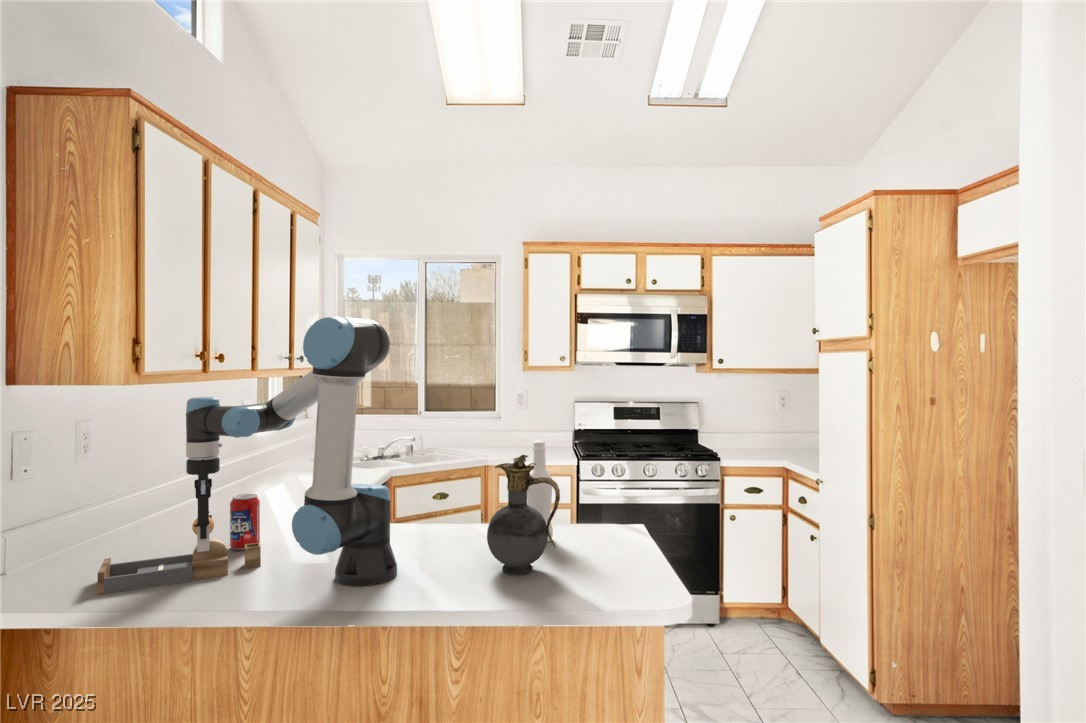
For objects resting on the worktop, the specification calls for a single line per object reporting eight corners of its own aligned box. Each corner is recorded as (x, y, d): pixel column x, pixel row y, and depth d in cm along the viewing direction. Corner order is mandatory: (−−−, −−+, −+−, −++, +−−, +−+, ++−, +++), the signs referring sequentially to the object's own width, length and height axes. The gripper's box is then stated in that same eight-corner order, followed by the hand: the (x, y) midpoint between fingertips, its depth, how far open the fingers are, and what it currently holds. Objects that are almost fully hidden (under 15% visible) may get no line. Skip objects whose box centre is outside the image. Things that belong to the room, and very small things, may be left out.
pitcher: (495, 561, 172) (495, 450, 172) (564, 566, 168) (564, 453, 167) (482, 574, 161) (482, 457, 161) (555, 581, 157) (555, 460, 157)
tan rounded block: (227, 574, 161) (227, 543, 161) (191, 579, 157) (191, 547, 157) (226, 563, 170) (226, 533, 170) (192, 567, 166) (192, 537, 166)
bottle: (556, 542, 189) (557, 442, 189) (531, 545, 186) (531, 443, 186) (546, 535, 197) (546, 438, 196) (522, 538, 194) (522, 440, 193)
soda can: (265, 544, 186) (265, 493, 186) (246, 552, 179) (246, 499, 179) (243, 542, 188) (243, 492, 188) (223, 550, 181) (223, 498, 181)
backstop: (103, 593, 148) (103, 572, 148) (97, 594, 148) (97, 573, 148) (110, 578, 158) (110, 558, 158) (104, 578, 158) (104, 558, 158)
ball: (214, 536, 162) (214, 517, 162) (192, 539, 159) (191, 519, 159) (214, 532, 166) (214, 513, 166) (192, 534, 164) (192, 515, 164)
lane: (191, 580, 157) (191, 566, 157) (103, 593, 148) (103, 578, 148) (192, 566, 167) (192, 553, 167) (110, 578, 158) (110, 564, 158)
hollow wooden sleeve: (260, 566, 167) (260, 546, 167) (245, 568, 166) (245, 548, 166) (259, 562, 171) (259, 542, 171) (244, 564, 169) (244, 544, 169)
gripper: (220, 461, 156) (220, 555, 157) (219, 451, 172) (219, 537, 172) (185, 464, 153) (185, 560, 153) (187, 453, 169) (187, 540, 169)
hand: (203, 547), depth 163 cm, fingers closed on ball, 5 cm apart
